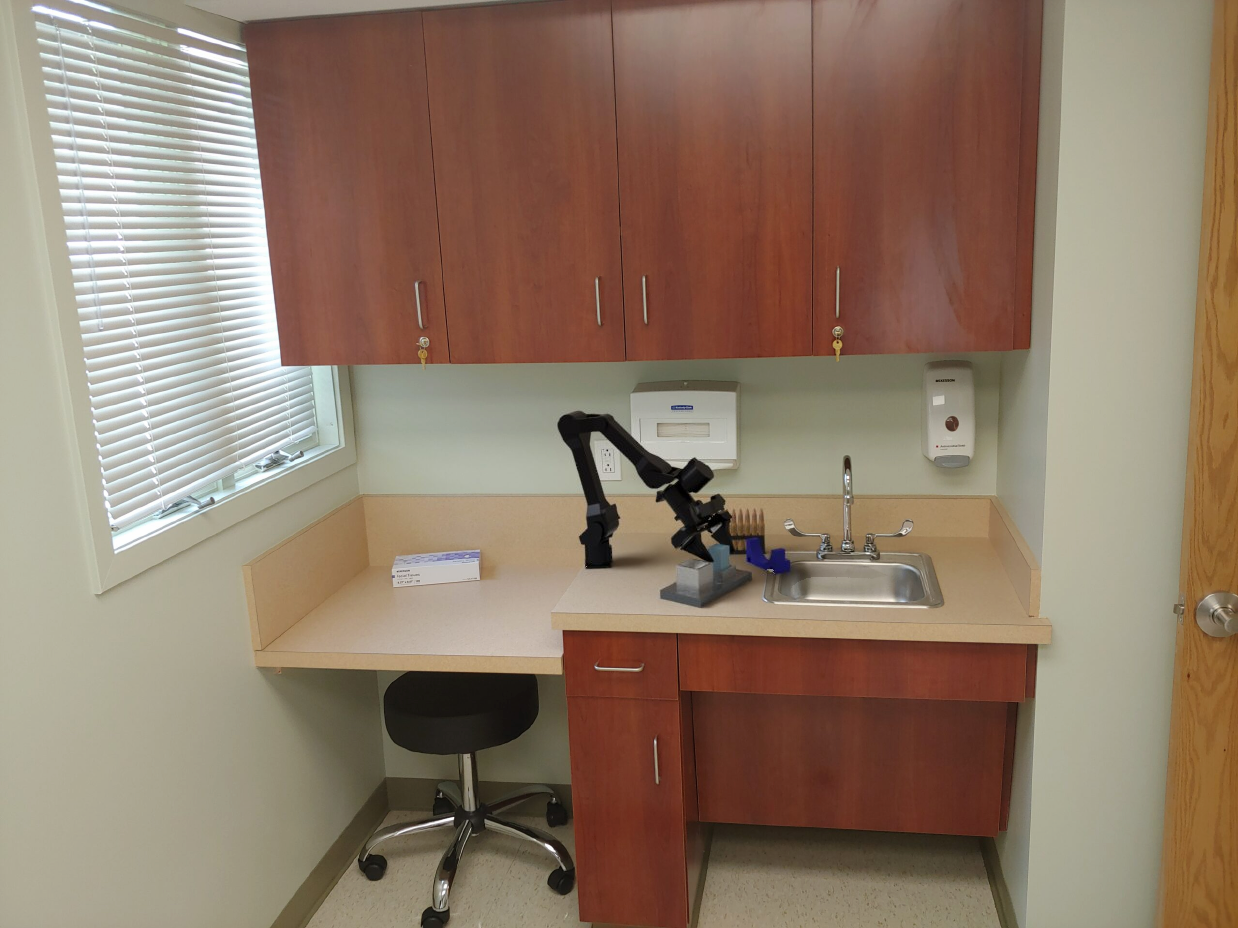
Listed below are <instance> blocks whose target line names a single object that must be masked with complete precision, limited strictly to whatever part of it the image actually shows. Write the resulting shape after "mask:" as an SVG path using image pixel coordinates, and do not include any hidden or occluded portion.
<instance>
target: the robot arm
mask: <svg viewBox="0 0 1238 928" xmlns="http://www.w3.org/2000/svg"><path fill="white" fill-rule="evenodd" d="M556 427H557V429H558V433H559V434H560V437H561V439H562V441H563V442H564V443H565V445H566V446H567V447H568V448H569V449H570V451H571V453H572V457H573V461H574V463H575V464H574V465H575V467H576V471H577V475H578V477H579V481H580V485H581V488H582V491H583V494H584V498H585V502H586V513H585V520H586V528H585V530H584V531H583V532H582V533H581V534H580V535H579V536H578V539H579V542H580V544H581V546H584V568H585V567H586V566H587V567H586V568H585V569H599V568H600V569H601V568H611V567H612V564H613V545H612V544H611V543H610V538H613V536H614V533H615V532H616V531H617V530H618V528H619V527H620V519H621V516H620V515H619V513H618V507H617V504H616V503H612V504H610V502H609V501H608V500H607V498H606V495H605V492H604V489H603V484H602V482H601V478H600V474H599V472H598V468H597V465H596V461H595V459H594V455H593V454H594V453H593V451H592V447H591V437H592V436H591V435H592V433H598V432H599V433H600V434H601V435H603V437H604V438H606V440H607V441H609V442H610V443H611V444H612V445H613V446H614V447H615V448H616V449H617V450H618V451H619V452H620V453H621V454H622V455H623V456H624V457H625V458H626V459H627V460H628V461H629V462H630V463H631V464H632V465H633V466H634V468H635V470H636V474H637V475H638V477H639V478H640V480H641V481H642V482H643V483H644V485H645V486H646V487H648V488H649V489H651V490H653V489H654V490H657V491H656V497H655V503H661V502H664V501H665V502H666V503H667V505H668V506H669V507H670V509H671V510H672V512H673V513H674V515H675V516H674V518H673V519H674V520H675V521H676V522H678V521H680V522H681V523H682V525H683V526H681V527H680V528H679V529H678V530H676V532H675V533H674V534H673V535H672V536H671V538H670V544H671V545H672V546H673V547H674V549H675V550H678V549H679V548H680V549H679V550H680V551H684V552H685V553H688V554H690V555H692V556H695V557H697V558H699V559H700V560H702V561H707V562H712V563H713V562H714V560H713V558H712V556H711V554H710V553H709V551H708V547H706V545H705V544H704V542H703V541H702V540H703V539H702V533H704V532H707V533H709V534H711V535H710V537H711V538H712V539H713V540H714V541H715V542H717V544H722V545H727V546H729V552H731V553H732V554H733V553H734V552H735V548H734V545H733V542H732V539H731V536H730V534H731V532H730V533H729V524H730V525H731V518H732V513H730V512H729V510H728V511H726V509H725V505H726V500H725V498H724V497H723V496H722V495H721V494H720V493H717V494H714V495H712V496H710V497H709V498H710V500H709V501H707V502H703V501H702V500H701V499H697V500H696V499H695V498H694V497H693V495H692V494H693V493H694V494H698V493H699V492H700V491H701V490H702V489H703V488H704V487H706V486H707V485H708V484H709V483H710V482H711V481H712V480H713V479H714V478H715V474H714V471H713V469H711V467H710V465H708V464H706V463H705V462H703V461H702V460H698V459H697V457H696V456H694V457H692V458H691V459H690V460H688V461H687V463H686V464H685V466H684V467H683V468H681V467H677V466H672V465H671V463H669V462H668V461H667V460H665V459H664V458H662V457H660V456H659V455H657V454H654V453H651V452H649V451H648V450H647V449H646V448H645V447H644V446H642V444H641V443H639V442H638V440H636V438H634V437H633V435H632V434H630V432H628V431H627V430H626V429H625V428H624V427H623V426H622V425H621V424H620V423H619V422H618V421H617V420H616V419H615V417H614V416H613V415H612V414H609V413H603V414H601V413H587V412H586V413H585V412H584V411H582V410H574V411H572V412H568V413H565V414H564V415H561V417H559V418H558V421H557V425H556ZM676 480H677V481H676ZM674 481H676V482H674ZM673 482H674V483H673ZM666 485H667V486H666ZM663 486H666V487H664V489H662V490H658V489H660V488H662V487H663ZM691 493H692V494H691Z"/></svg>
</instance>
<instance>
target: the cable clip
mask: <svg viewBox="0 0 1238 928" xmlns="http://www.w3.org/2000/svg"><path fill="white" fill-rule="evenodd" d="M745 557H746V558H745V560H746V562H747V563H749V564H751V565H753V566H756V567H758V568H759V569H762V570H764V571H766V570H767V569H773V570H774V571H773V572H774V573H775V574H774V575H779V574H784V573H788V572H791V559H788V558H786V548H783V547H778V548H774V549H771V552H770V557H769V558H767V556H765V554H763V552H762V550H761V547H760V539H759V538H750V539H746V554H745Z"/></svg>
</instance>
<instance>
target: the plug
mask: <svg viewBox="0 0 1238 928" xmlns="http://www.w3.org/2000/svg"><path fill="white" fill-rule="evenodd" d="M707 550H708V551H709V553H710V554H711V556H712V558H713V560H714V562H713V570H718V571H723V570H725V569H727V568H729V567H730V555H729V546H727V545H722V544H719V543H718V542H717V543H714V544H712V545H710V546H708V547H707Z"/></svg>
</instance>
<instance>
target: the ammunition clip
mask: <svg viewBox="0 0 1238 928" xmlns="http://www.w3.org/2000/svg"><path fill="white" fill-rule="evenodd" d="M725 510H726V511H728V512H729V510H728V508H726V509H725ZM736 514H737V513H736V510H735V508H733V509H732V511H731V516H732V518H731V523H730V524H729V533H730V536H731V539H732V542H733V545H734V548H735V552H734V553H733V554H732V553H731V552H729V556H731V555H732V556H733V555H734V556H735V555H738V556H739V555H746V539H750V538H759V539H760V547H761V550H762V552H763V554H764V555H766V540H765V539H766V537H765V535H766V534H765V533H766V531H765V528H766V525H765V519H764V518H765V516H764V510H763V508H762V507H761V508H760V510H759V514H758V515H757V510H756V508H753V510H752V513H751V516H750V510H749V508H746V510H745V514H744V513H743V510H742V508H740V509H739V510H738V516H737V515H736ZM757 516H758V518H757ZM737 517H738V519H737ZM750 517H751V518H750Z"/></svg>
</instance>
